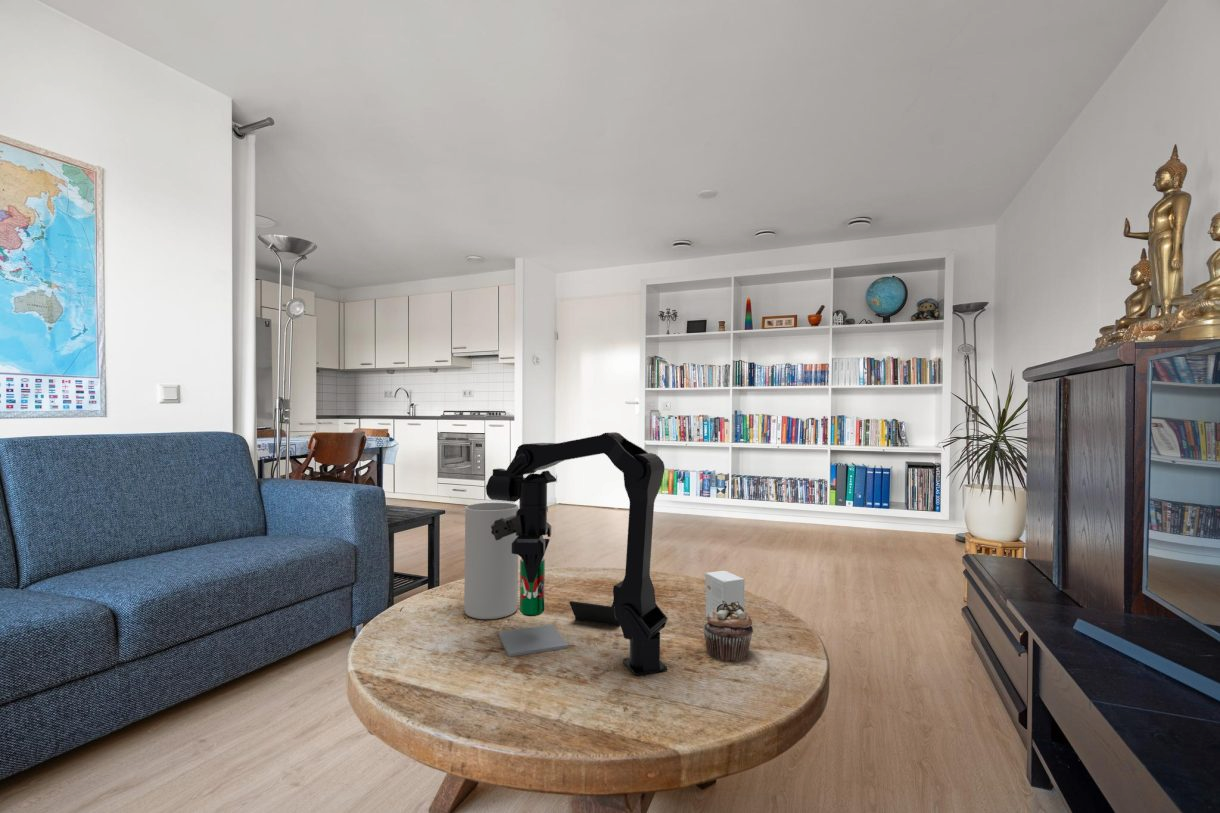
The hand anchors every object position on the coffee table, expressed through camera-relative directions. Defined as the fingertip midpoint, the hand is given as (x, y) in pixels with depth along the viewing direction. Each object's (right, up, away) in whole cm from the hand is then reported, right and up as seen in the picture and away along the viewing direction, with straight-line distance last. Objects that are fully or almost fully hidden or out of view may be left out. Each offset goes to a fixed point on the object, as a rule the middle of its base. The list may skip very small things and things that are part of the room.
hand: (532, 578), depth 118 cm
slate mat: (0, -13, 0) cm, 13 cm away
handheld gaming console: (+14, -14, +11) cm, 22 cm away
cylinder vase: (-12, -13, +18) cm, 25 cm away
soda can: (0, -7, 0) cm, 7 cm away
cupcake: (+39, -13, -5) cm, 42 cm away
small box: (+42, -14, +12) cm, 46 cm away
